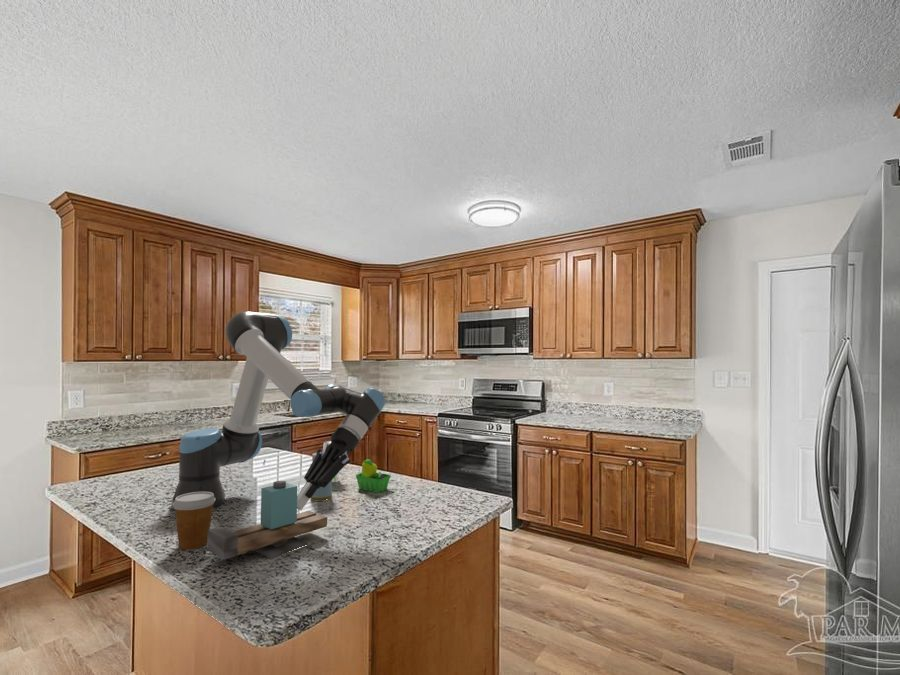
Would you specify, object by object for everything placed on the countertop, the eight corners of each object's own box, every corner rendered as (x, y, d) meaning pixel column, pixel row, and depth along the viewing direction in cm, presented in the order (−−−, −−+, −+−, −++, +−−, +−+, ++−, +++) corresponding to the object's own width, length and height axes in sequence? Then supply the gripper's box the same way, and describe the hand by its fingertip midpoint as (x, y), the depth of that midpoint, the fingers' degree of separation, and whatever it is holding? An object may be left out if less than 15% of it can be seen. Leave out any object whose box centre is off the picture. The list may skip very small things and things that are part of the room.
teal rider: (285, 525, 122) (286, 478, 122) (296, 530, 118) (297, 481, 119) (260, 533, 116) (261, 483, 117) (270, 537, 113) (271, 486, 114)
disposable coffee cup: (182, 538, 122) (184, 491, 122) (220, 537, 123) (221, 490, 123) (163, 553, 112) (165, 502, 113) (204, 551, 113) (206, 501, 114)
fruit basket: (392, 489, 170) (392, 457, 170) (375, 494, 162) (376, 462, 163) (368, 484, 176) (368, 454, 176) (351, 490, 168) (352, 458, 169)
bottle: (334, 495, 161) (335, 451, 161) (327, 502, 154) (328, 455, 154) (315, 495, 161) (315, 451, 162) (306, 501, 154) (307, 455, 155)
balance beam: (305, 527, 130) (305, 501, 130) (331, 538, 122) (331, 510, 123) (203, 558, 109) (204, 528, 110) (227, 573, 101) (228, 540, 102)
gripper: (370, 445, 133) (319, 520, 119) (342, 440, 141) (291, 509, 127) (356, 428, 129) (301, 503, 115) (327, 424, 137) (273, 494, 123)
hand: (296, 506), depth 121 cm, fingers closed
